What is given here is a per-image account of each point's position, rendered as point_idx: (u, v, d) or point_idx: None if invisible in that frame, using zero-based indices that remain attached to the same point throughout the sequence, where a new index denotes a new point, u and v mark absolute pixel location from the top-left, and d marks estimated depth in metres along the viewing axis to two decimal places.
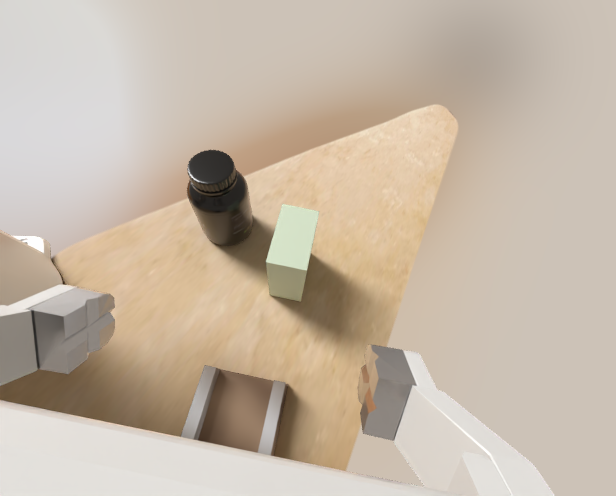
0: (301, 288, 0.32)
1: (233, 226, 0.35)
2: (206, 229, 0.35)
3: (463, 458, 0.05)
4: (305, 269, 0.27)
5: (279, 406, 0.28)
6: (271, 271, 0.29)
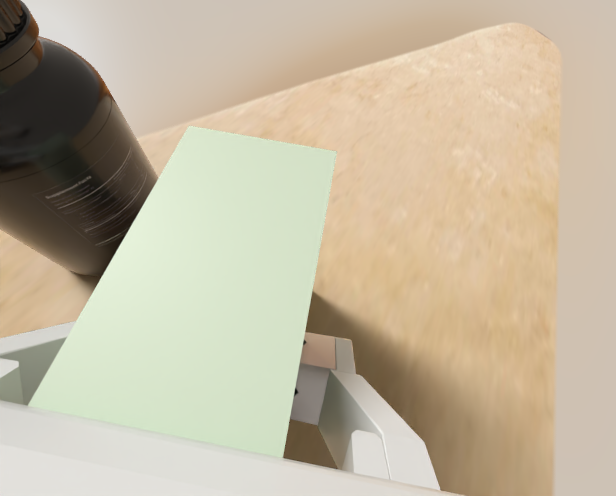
0: None
1: (77, 224, 0.12)
2: None
3: (352, 436, 0.05)
4: None
5: None
6: None
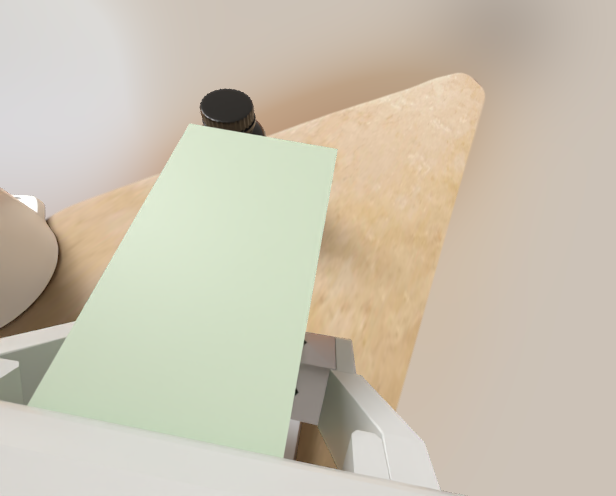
0: None
1: None
2: None
3: (352, 436, 0.05)
4: None
5: None
6: None
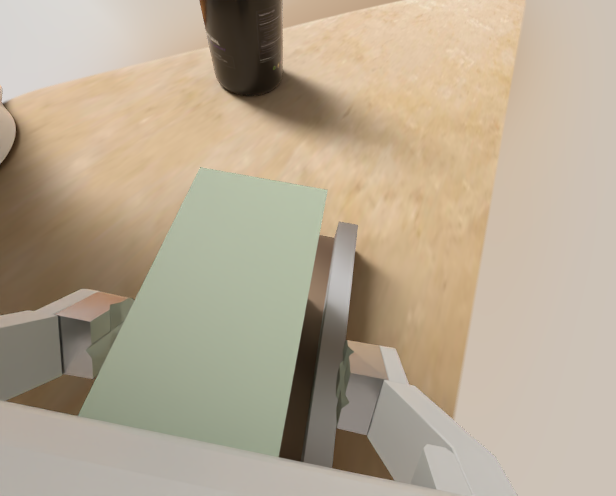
0: None
1: (260, 40, 0.24)
2: (221, 52, 0.25)
3: (424, 450, 0.05)
4: None
5: (352, 254, 0.17)
6: None
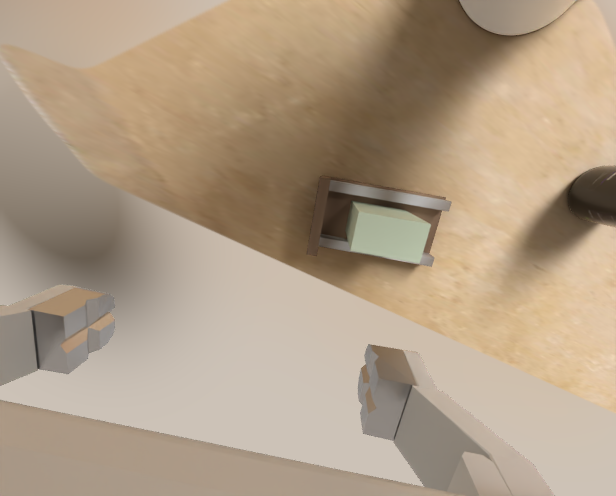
0: (347, 237, 0.34)
1: (601, 213, 0.32)
2: (600, 180, 0.32)
3: (463, 458, 0.05)
4: (351, 249, 0.29)
5: None
6: (356, 213, 0.30)
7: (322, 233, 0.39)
